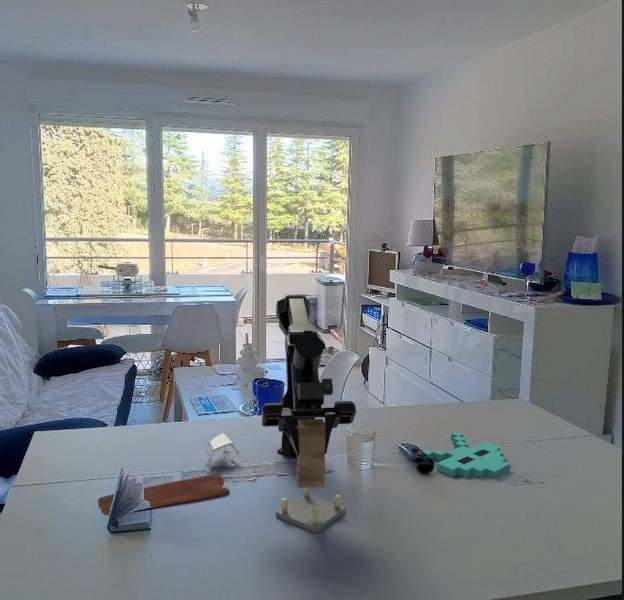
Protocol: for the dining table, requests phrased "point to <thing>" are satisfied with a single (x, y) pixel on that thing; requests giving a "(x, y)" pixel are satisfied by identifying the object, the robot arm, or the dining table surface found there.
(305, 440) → the walnut shelf block
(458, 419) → the dining table surface
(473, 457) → the alien figure
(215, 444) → the white gabled frame
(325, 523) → the peg plate
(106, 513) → the wooden tablet
